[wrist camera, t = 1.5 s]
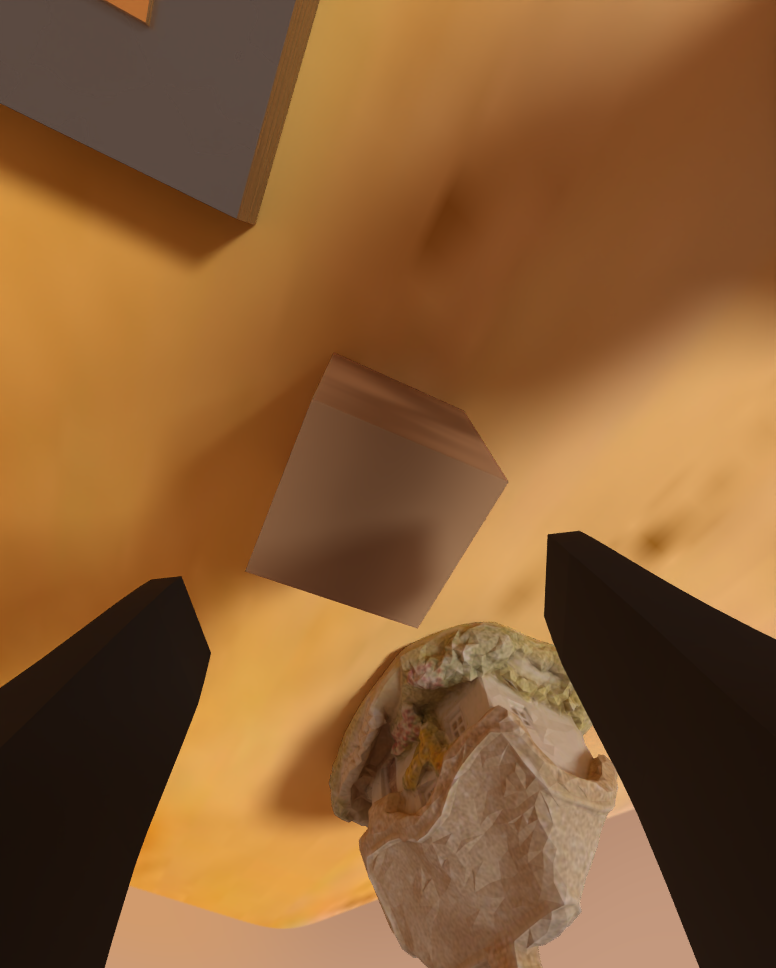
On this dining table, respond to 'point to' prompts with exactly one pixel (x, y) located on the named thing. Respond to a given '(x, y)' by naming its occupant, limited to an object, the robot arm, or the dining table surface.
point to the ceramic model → (474, 796)
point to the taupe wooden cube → (377, 496)
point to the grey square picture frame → (162, 84)
